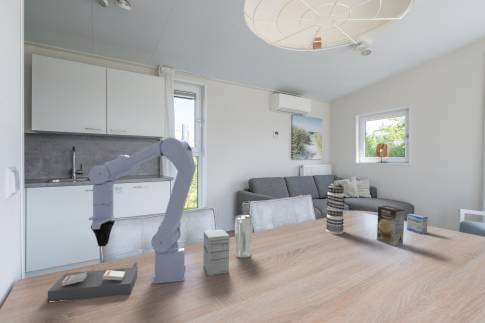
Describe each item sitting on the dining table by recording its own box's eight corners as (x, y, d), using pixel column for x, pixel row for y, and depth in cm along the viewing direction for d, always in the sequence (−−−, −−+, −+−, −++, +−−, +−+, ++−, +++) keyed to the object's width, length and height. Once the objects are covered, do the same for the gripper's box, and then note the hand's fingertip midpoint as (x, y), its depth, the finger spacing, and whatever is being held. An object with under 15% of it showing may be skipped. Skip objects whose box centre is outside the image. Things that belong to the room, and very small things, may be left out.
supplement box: (202, 266, 86) (203, 230, 86) (223, 263, 89) (223, 228, 88) (207, 276, 79) (207, 237, 79) (229, 272, 82) (230, 235, 81)
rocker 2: (124, 274, 72) (125, 271, 72) (121, 280, 69) (122, 276, 69) (106, 273, 71) (106, 269, 71) (102, 279, 68) (103, 275, 68)
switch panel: (141, 264, 86) (141, 255, 86) (130, 293, 68) (130, 281, 68) (77, 269, 82) (77, 259, 82) (47, 302, 64) (47, 289, 64)
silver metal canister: (241, 250, 101) (242, 213, 101) (255, 254, 97) (256, 216, 96) (230, 255, 96) (231, 217, 96) (244, 260, 92) (245, 220, 91)
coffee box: (375, 239, 117) (377, 206, 116) (385, 238, 119) (386, 205, 119) (394, 246, 108) (395, 210, 108) (404, 244, 111) (405, 209, 110)
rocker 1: (87, 275, 70) (86, 271, 70) (82, 280, 67) (82, 277, 67) (67, 280, 69) (66, 276, 69) (62, 286, 66) (61, 282, 66)
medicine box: (406, 230, 133) (407, 214, 133) (411, 229, 135) (412, 213, 135) (422, 234, 126) (422, 217, 126) (427, 233, 128) (427, 216, 128)
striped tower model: (321, 230, 131) (322, 183, 130) (334, 228, 134) (335, 182, 134) (334, 235, 122) (335, 185, 122) (348, 233, 126) (349, 184, 126)
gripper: (97, 199, 85) (97, 238, 85) (80, 208, 71) (80, 254, 71) (119, 198, 87) (119, 236, 87) (106, 207, 72) (106, 253, 73)
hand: (103, 245), depth 79 cm, fingers closed
